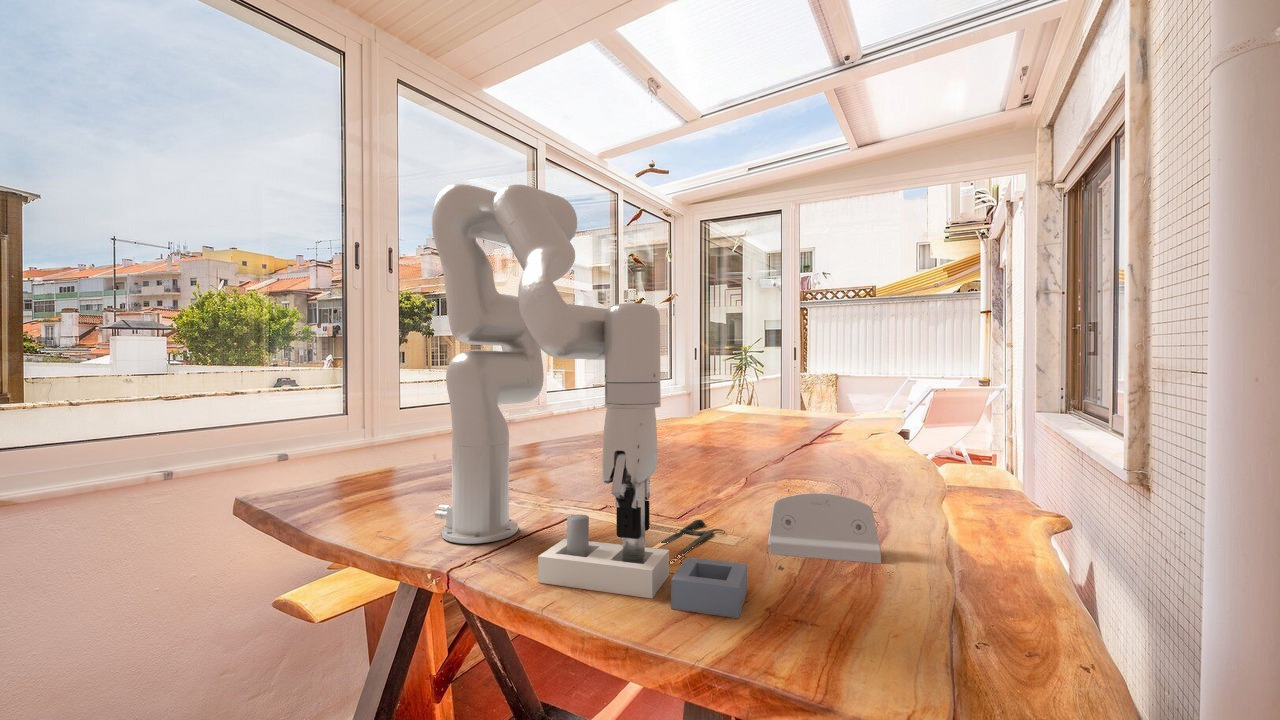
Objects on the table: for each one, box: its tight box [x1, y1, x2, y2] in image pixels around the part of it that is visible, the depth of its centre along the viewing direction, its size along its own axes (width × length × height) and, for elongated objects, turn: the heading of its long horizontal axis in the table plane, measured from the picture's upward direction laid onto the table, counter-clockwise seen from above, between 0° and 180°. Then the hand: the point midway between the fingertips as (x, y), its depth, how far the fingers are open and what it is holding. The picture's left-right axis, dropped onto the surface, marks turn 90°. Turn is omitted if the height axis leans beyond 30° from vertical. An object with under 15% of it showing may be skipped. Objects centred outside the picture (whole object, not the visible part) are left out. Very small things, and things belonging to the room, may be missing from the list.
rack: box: [537, 514, 670, 599], centre depth 74 cm, size 16×8×8 cm, turn 72°
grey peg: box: [622, 479, 646, 564], centre depth 73 cm, size 3×3×12 cm
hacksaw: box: [660, 519, 726, 575], centre depth 88 cm, size 24×10×2 cm, turn 147°
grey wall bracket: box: [767, 492, 882, 564], centre depth 86 cm, size 17×5×10 cm, turn 76°
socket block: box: [670, 556, 748, 619], centre depth 68 cm, size 8×8×4 cm
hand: (633, 532), depth 73 cm, fingers closed on grey peg, 3 cm apart
